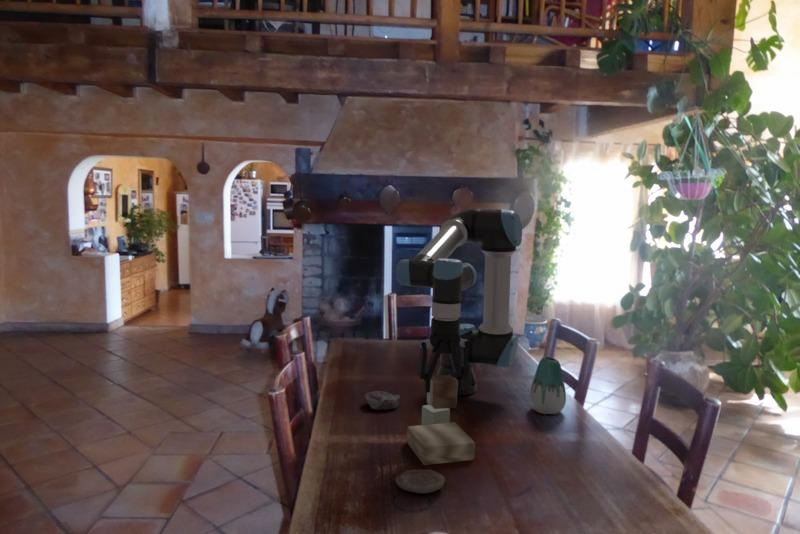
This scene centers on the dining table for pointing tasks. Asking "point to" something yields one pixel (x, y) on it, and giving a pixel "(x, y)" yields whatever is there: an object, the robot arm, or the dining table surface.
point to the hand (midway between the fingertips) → (441, 402)
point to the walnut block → (444, 392)
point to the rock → (382, 400)
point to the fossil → (420, 481)
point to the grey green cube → (434, 415)
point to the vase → (548, 387)
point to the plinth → (440, 443)
